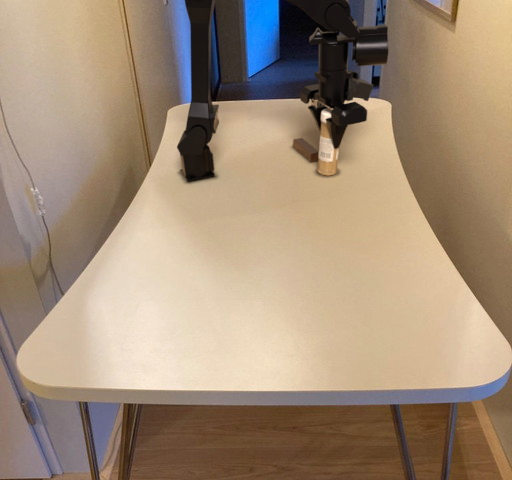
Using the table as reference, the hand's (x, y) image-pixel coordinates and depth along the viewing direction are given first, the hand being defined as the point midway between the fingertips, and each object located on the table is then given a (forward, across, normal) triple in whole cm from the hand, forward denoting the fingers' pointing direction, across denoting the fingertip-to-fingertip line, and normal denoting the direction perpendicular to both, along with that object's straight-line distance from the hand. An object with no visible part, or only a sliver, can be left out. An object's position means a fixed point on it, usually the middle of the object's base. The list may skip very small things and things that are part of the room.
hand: (331, 144), depth 119 cm
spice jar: (+6, 0, +1) cm, 6 cm away
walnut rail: (+6, +12, 0) cm, 13 cm away
